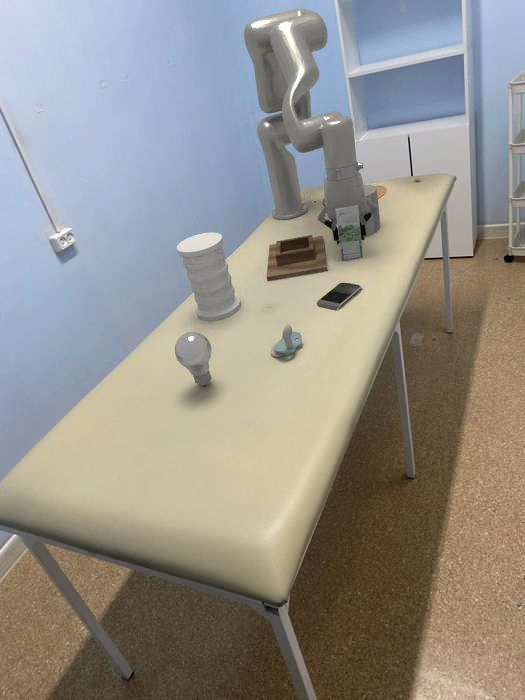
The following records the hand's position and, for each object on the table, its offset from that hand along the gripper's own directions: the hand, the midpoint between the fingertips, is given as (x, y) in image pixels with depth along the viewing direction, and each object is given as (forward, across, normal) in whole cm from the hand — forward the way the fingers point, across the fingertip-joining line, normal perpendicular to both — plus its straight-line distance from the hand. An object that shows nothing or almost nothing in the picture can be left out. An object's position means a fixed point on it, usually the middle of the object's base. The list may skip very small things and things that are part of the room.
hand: (349, 239), depth 132 cm
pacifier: (+5, +18, +41) cm, 45 cm away
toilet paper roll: (+5, -4, -17) cm, 18 cm away
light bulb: (+5, +34, +49) cm, 60 cm away
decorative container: (+5, +35, +18) cm, 40 cm away
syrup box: (+5, 0, 0) cm, 5 cm away
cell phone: (+5, +5, +22) cm, 23 cm away
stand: (+5, +15, -4) cm, 16 cm away
